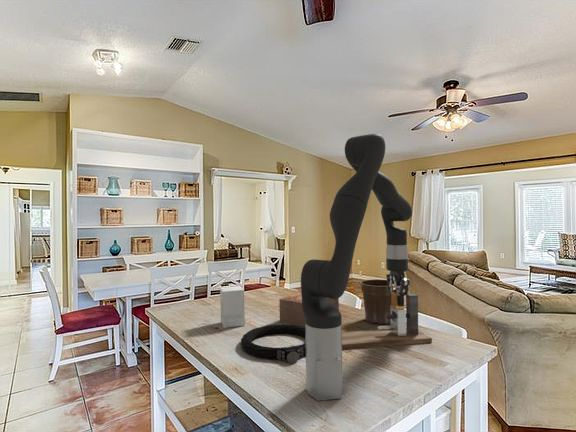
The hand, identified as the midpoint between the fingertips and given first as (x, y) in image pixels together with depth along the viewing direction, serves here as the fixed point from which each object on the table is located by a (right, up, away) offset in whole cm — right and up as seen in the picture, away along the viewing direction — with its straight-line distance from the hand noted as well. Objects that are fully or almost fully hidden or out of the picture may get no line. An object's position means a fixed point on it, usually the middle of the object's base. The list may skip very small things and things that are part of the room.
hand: (397, 304), depth 125 cm
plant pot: (-1, -13, +22) cm, 25 cm away
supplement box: (-63, -14, +20) cm, 67 cm away
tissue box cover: (-30, -13, +28) cm, 43 cm away
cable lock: (-42, -14, -5) cm, 44 cm away
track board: (-7, -12, -1) cm, 14 cm away
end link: (-3, -11, 0) cm, 11 cm away
